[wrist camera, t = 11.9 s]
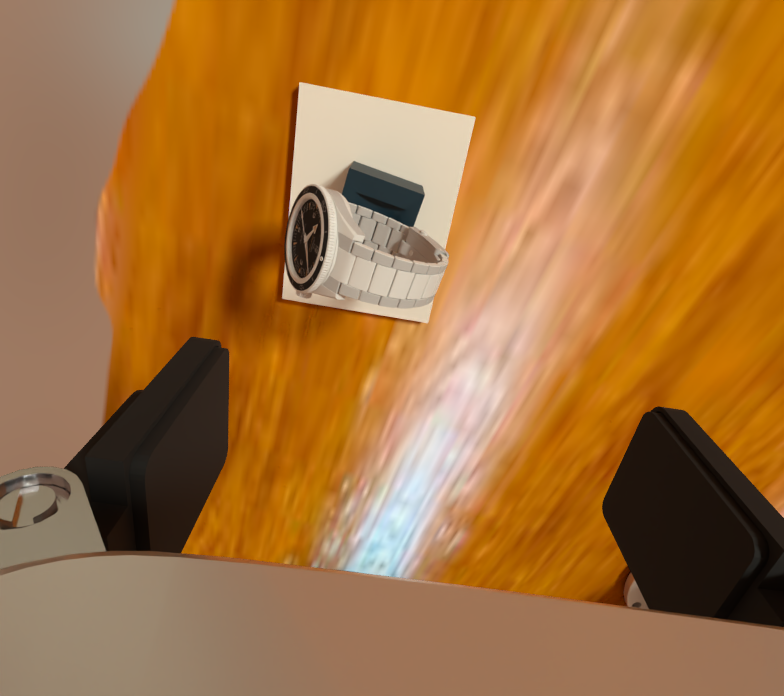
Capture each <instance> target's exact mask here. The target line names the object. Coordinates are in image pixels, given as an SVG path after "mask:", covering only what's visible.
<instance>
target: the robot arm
mask: <svg viewBox="0 0 784 696" xmlns="http://www.w3.org/2000/svg"><path fill="white" fill-rule="evenodd" d="M228 405H229V351H228V349H226V348H221V344H220V342H219V341H217V340H211V339H204V338H197V337H191V338H190V339H189V340H188V341H187V342H186V343H185V344H184V345H183V346H182V347H181V349H180V350H179V351H178V352H177V353H176V354H175V355H174V356H173V358H172V359H171V360H170V361H169V362H168V363H167V364H166V365H165V367H164V368H163V369H162V370H161V371H160V372H159V373H158V374H157V376H156V377H155V378H154V379H153V380H152V381H151V382H150V383H149V385H148V386H147V387H146V388H145V389H144V390H138V391H135V392H134V393H133V394H132V395H131V396H130V397H129V398H128V399H127V400H126V401H125V402H124V403H123V404H122V406H121V407H120V408H119V409H118V410H117V411H116V412H115V413H114V414H113V415H112V416H111V418H110V419H109V420H108V421H107V422H106V423H105V424H104V425H103V426H102V427H101V428H100V430H99V431H98V432H97V433H96V434H95V435H94V436H93V437H92V438H91V439H90V440H89V442H88V443H87V444H86V445H85V446H84V447H83V448H82V449H81V450H80V451H79V452H78V454H77V455H76V456H75V457H74V458H73V459H72V460H71V461H70V462H69V463H68V464H67V466H66V467H65V468H64V469H62V468H57V467H33V468H28V469H23V470H18V471H15V472H12V473H10V474H7V475H4V476H1V477H0V696H784V518H783V517H782V516H781V515H780V514H779V513H778V511H777V510H776V509H775V508H774V507H773V506H772V505H771V504H770V503H769V502H768V500H767V499H766V498H765V497H764V496H763V495H762V494H761V493H760V492H759V491H758V490H757V488H756V487H755V486H754V485H753V484H752V483H751V482H750V481H749V480H748V479H747V477H746V476H745V475H744V474H743V473H742V472H741V471H740V470H739V469H738V468H737V466H736V465H735V464H734V463H733V462H732V461H731V460H730V459H729V458H728V457H727V456H726V454H725V453H724V452H723V451H722V450H721V449H720V448H719V447H718V446H717V445H716V443H715V442H714V441H713V440H712V439H711V438H710V437H709V436H708V435H707V434H706V433H705V431H704V430H703V429H702V428H701V427H700V426H699V425H698V424H697V423H696V422H695V420H694V419H693V418H692V417H691V416H690V415H689V414H688V413H687V412H686V411H684V410H678V409H671V408H665V407H655V408H654V409H653V410H651V412H646V413H645V414H644V415H643V417H642V419H641V421H640V423H639V425H638V427H637V429H636V432H635V434H634V436H633V438H632V440H631V442H630V444H629V446H628V449H627V451H626V453H625V455H624V457H623V459H622V461H621V463H620V466H619V468H618V470H617V472H616V474H615V476H614V478H613V481H612V483H611V485H610V487H609V489H608V491H607V493H606V495H605V498H604V500H603V505H602V510H603V515H604V518H605V520H606V522H607V524H608V526H609V528H610V530H611V532H612V534H613V536H614V538H615V540H616V542H617V544H618V546H619V548H620V551H621V553H622V555H623V557H624V559H625V561H626V563H627V565H628V567H629V569H630V571H631V573H630V574H629V576H628V578H627V580H626V582H625V586H624V599H625V602H626V604H627V606H620V605H612V604H605V603H597V602H590V601H582V600H574V599H566V598H558V597H550V596H542V595H535V594H527V593H519V592H511V591H503V590H495V589H487V588H479V587H471V586H463V585H455V584H447V583H439V582H431V581H423V580H414V579H406V578H398V577H389V576H381V575H373V574H364V573H356V572H348V571H339V570H331V569H323V568H314V567H306V566H297V565H289V564H281V563H272V562H264V561H255V560H247V559H238V558H229V557H218V556H206V555H194V554H182V553H181V552H182V550H183V548H184V546H185V544H186V541H187V539H188V537H189V535H190V533H191V531H192V529H193V527H194V525H195V523H196V521H197V519H198V517H199V515H200V513H201V511H202V509H203V507H204V505H205V503H206V500H207V498H208V496H209V494H210V492H211V490H212V488H213V486H214V484H215V482H216V480H217V478H218V476H219V474H220V472H221V470H222V468H223V466H224V463H225V460H226V457H227V451H228Z"/></svg>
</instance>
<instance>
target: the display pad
mask: <svg viewBox="0 0 784 696" xmlns="http://www.w3.org/2000/svg"><path fill="white" fill-rule="evenodd" d="M475 118H476V117H473V116H468V115H463V114H458V113H453V112H448V111H443V110H438V109H433V108H428V107H423V106H417V105H412V104H407V103H402V102H397V101H392V100H387V99H382V98H377V97H372V96H367V95H362V94H357V93H352V92H347V91H342V90H337V89H332V88H327V87H322V86H317V85H312V84H306V83H301V82H300V83H299V95H298V107H297V120H296V132H295V145H294V157H293V170H292V182H291V194H290V207H289V216H290V212H291V209H292V207H293V204H294V202H295V200H296V198H297V196H298V195H299V193H300V192H301V191H302V190H303V188H304V187H306V186H307V185H309V184H318V185H321V186H323V187H324V188H327V189H331V190H335V191H338V192H339V193H341V194H342V191H343V188H344V184H345V181H346V177H347V174H348V171H349V168H350V166H351V164H352V163H353V161H356V162H358V163H361V164H364V165H367V166H369V167H372V168H375V169H378V170H380V171H383V172H386V173H389V174H392V175H394V176H397V177H400V178H403V179H405V180H408V181H411V182H414V183H416V184H419V185H422V186H423V189H424V193H425V197H424V199H423V202H422V205H421V208H420V210H419V213H418V216H417V219H416V221H415V224H414V227H416V228H418V229H419V230H424V231H426V232H427V235H428V236H429V237H431V238H432V239H433V240H435V241H436V242H437V243H438V244H439V245H440V246H442V247H443V248H444V249H445V247H446V243H447V239H448V234H449V230H450V226H451V221H452V217H453V213H454V208H455V204H456V200H457V195H458V191H459V187H460V182H461V178H462V174H463V169H464V165H465V161H466V156H467V152H468V148H469V144H470V139H471V135H472V131H473V126H474V122H475ZM370 282H371V281H370ZM369 285H370V284H369ZM368 288H369V287H368ZM360 293H361V291H360ZM359 296H360V294H359ZM282 299H286V300H292V301H298V302H304V303H310V304H316V305H322V306H328V307H334V308H340V309H346V310H352V311H358V312H364V313H370V314H376V315H382V316H388V317H394V318H400V319H406V320H412V321H418V322H424V323H428V321H429V317H430V312H431V308H432V304H433V300H432V302H431V303H429V304H427V305H425V306H422V307H417V308H409V309H400V308H391V307H384V306H379V305H375V304H370V303H366V302H362V301H359V300H358V299H359V297H358V299H353V298H350V297H347V296H346V297H345V300H338V299H333V298H329V297H325V296H322V295H318V294H314V293H312V296H311V298H309V299H305V298H301V297H299V296H297V295H296V290H295V289H294V288H293V287H292V285H291V283H290V281H289V278H288V275H287V271H286V265H285V269H284V281H283V294H282Z"/></svg>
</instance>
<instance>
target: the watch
mask: <svg viewBox="0 0 784 696" xmlns="http://www.w3.org/2000/svg"><path fill="white" fill-rule="evenodd" d="M424 197H425V193H424V189H423V186H422V185H419V184H416V183H414V182H411V181H408V180H405V179H403V178H400V177H397V176H394V175H392V174H389V173H386V172H383V171H380V170H378V169H375V168H372V167H369V166H367V165H364V164H361V163H358V162H356V161H353V163H352V164H351V166H350V168H349V171H348V174H347V177H346V181H345V184H344V188H343V191H342V194H341V193H339V192H338V191H335V190H331V189H327V188H324V187H323V186H321V185H318V184H309V185H307V186H306V187H304V188H303V190H302V191H301V192H300V193H299V195H298V196H297V198H296V200H295V202H294V204H293V207H292V209H291V212H290V216H289V219H288V223H287V229H286V235H285V265H286V271H287V275H288V278H289V281H290V283H291V285H292V287H293V288H294V289H295V290H296V295H297V296H299V297H301V298H305V299H309V298H311V296H312V293H314V294H318V295H322V296H325V297H329V298H333V299H338V300H345V297H346V296H347V297H350V298H353V299H358V297H359V299H358V300H359V301H362V302H366V303H370V304H375V305H379V306H384V307H391V308H400V309H409V308H417V307H422V306H425V305H427V304H429V303H431V302H432V300H433V299H434V296H435V294H436V292H437V289H438V287H439V284H440V282H441V279H442V277H443V275H444V272H445V269H446V267H447V265H448V258H449V254H448V253H447V251H446V250H445V249H444V248H443V247H442V246H440V245H439V244H438V243H437V242H436V241H435V240H433V239H432V238H431V237H429V236H428V235H427V232H426V231H424V230H419V229H418V228H416V227H414V224H415V221H416V219H417V216H418V213H419V210H420V208H421V205H422V202H423V199H424ZM370 281H371V282H370ZM369 284H370V285H369ZM368 287H369V288H368ZM360 291H361V293H360ZM359 294H360V296H359Z"/></svg>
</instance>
